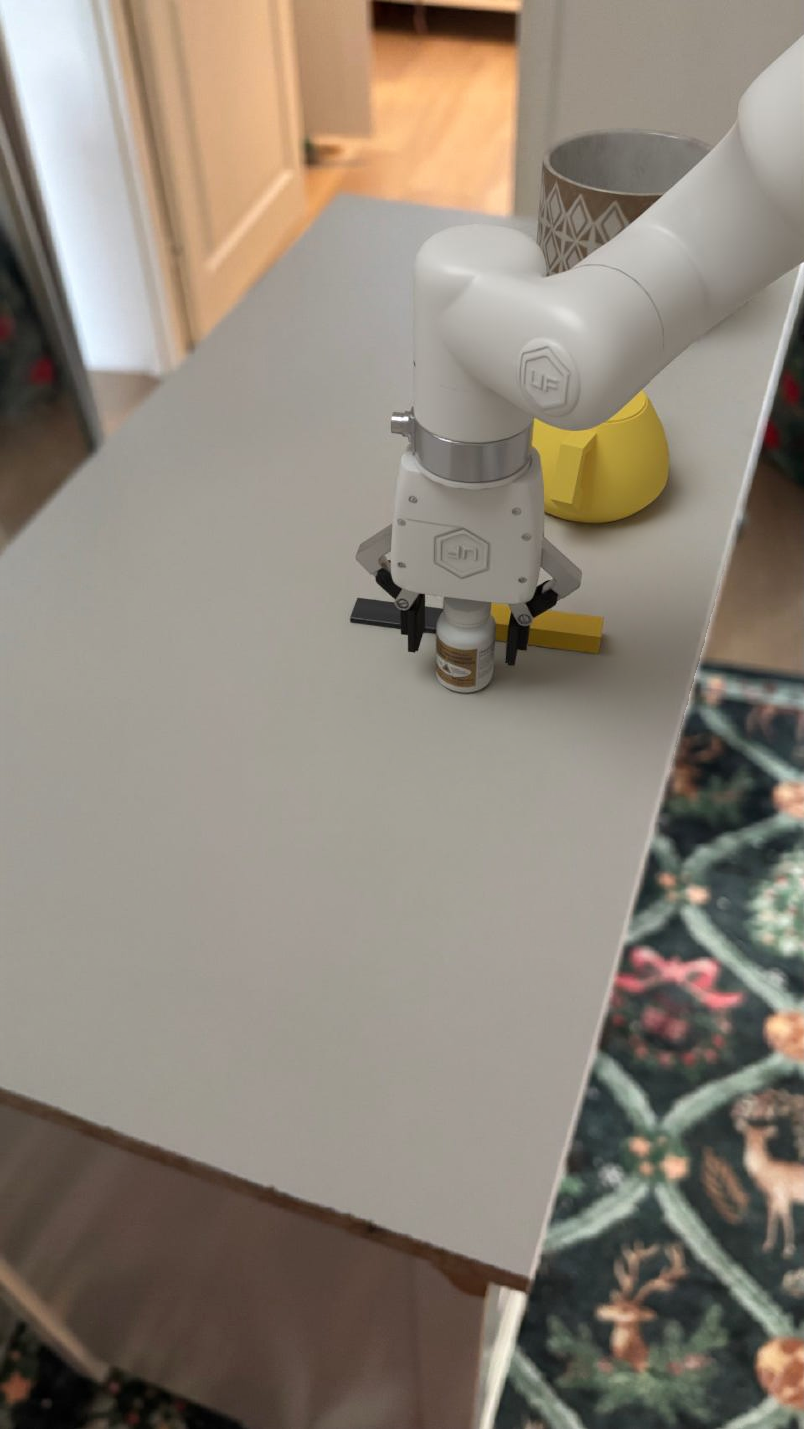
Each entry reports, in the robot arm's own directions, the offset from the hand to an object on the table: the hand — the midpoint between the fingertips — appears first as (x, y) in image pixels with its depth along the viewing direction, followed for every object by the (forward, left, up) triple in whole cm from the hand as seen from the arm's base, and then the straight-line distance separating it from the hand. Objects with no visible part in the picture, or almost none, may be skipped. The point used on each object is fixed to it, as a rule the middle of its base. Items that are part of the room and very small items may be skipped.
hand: (464, 645), depth 81 cm
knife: (0, -5, -3) cm, 6 cm away
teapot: (-5, -27, -3) cm, 28 cm away
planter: (-7, -63, -3) cm, 64 cm away
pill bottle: (0, 0, -3) cm, 3 cm away
